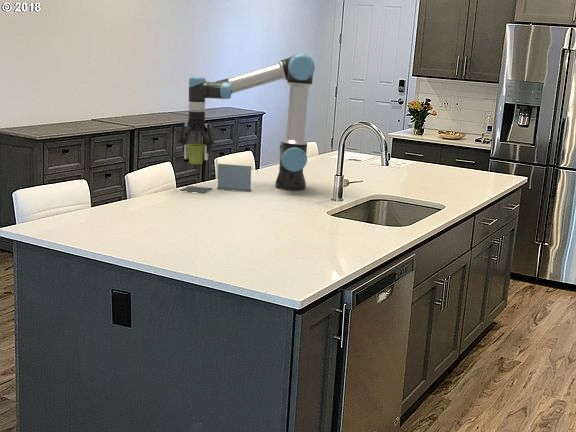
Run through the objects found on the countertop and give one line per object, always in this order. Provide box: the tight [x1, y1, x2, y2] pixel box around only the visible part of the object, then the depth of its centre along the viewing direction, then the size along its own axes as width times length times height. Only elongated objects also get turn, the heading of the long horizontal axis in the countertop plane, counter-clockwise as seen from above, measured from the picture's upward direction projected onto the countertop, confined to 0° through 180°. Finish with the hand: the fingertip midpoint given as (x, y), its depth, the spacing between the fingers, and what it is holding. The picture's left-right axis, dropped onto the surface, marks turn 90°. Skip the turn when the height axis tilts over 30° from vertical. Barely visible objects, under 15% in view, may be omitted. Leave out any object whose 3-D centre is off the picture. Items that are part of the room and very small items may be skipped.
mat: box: [179, 185, 213, 194], centre depth 363 cm, size 12×12×1 cm
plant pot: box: [186, 143, 206, 165], centre depth 359 cm, size 9×9×9 cm
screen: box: [216, 163, 252, 193], centre depth 366 cm, size 16×3×12 cm, turn 75°
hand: (196, 159), depth 360 cm, fingers closed on plant pot, 9 cm apart
